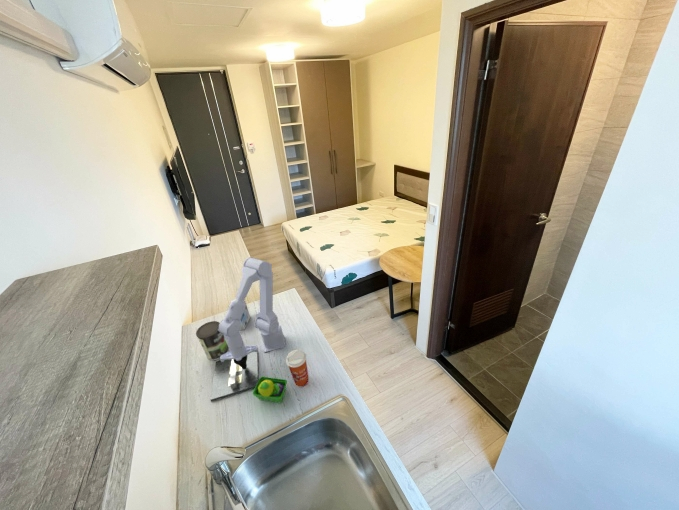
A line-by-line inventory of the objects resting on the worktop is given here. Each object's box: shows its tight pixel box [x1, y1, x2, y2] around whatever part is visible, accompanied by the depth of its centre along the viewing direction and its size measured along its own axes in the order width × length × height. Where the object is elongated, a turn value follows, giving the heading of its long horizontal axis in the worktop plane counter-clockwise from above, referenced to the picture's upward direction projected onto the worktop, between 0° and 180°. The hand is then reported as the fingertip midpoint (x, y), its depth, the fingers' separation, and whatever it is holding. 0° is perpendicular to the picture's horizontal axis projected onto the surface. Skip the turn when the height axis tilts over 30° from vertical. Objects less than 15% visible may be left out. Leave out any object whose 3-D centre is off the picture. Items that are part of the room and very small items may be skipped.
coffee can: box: [195, 320, 230, 361], centre depth 124 cm, size 10×10×14 cm
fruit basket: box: [252, 376, 288, 404], centre depth 102 cm, size 11×9×11 cm
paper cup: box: [285, 348, 309, 388], centre depth 106 cm, size 8×8×14 cm
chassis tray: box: [209, 351, 259, 402], centre depth 114 cm, size 18×19×5 cm
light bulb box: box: [240, 300, 251, 331], centre depth 140 cm, size 11×7×11 cm, turn 179°
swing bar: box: [230, 359, 238, 389], centre depth 113 cm, size 2×16×3 cm, turn 16°
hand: (245, 367), depth 115 cm, fingers closed
